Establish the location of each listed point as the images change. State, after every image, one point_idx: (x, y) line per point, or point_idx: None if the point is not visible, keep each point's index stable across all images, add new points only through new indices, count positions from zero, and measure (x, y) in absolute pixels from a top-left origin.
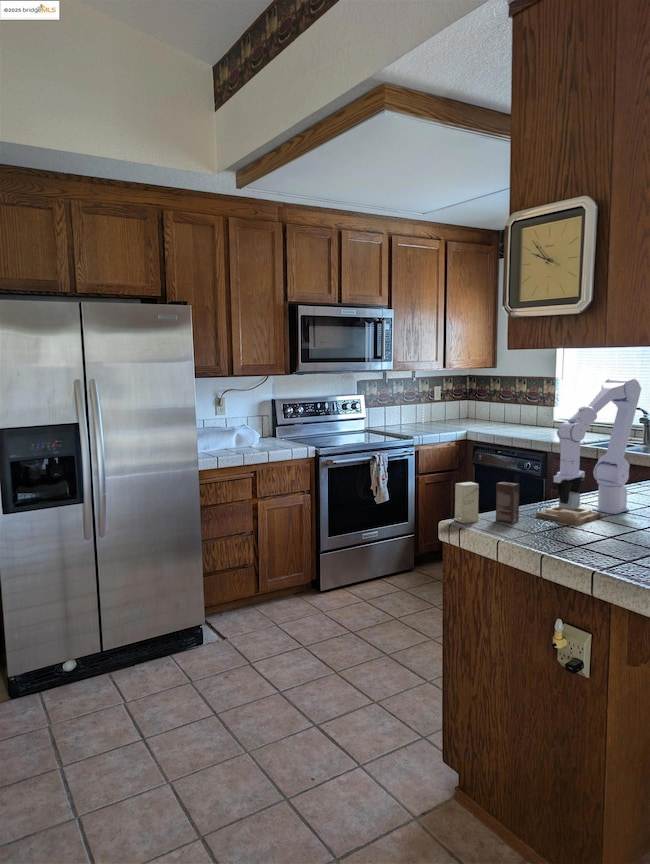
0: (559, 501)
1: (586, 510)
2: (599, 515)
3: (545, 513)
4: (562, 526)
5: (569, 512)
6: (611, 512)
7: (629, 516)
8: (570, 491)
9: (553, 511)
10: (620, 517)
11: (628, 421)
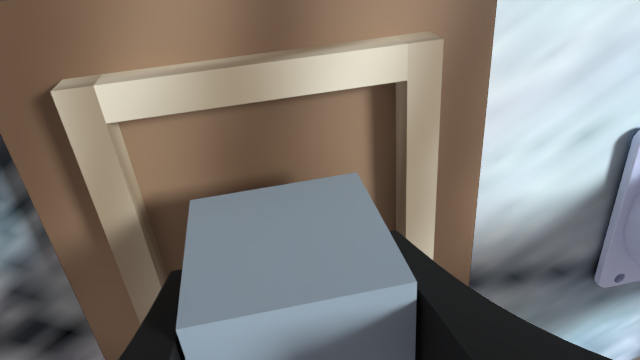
0: (187, 244)
1: None
2: None
3: (24, 119)
4: (7, 340)
5: None
6: (603, 270)
7: (605, 330)
8: (414, 327)
9: (92, 190)
10: (549, 326)
11: None
